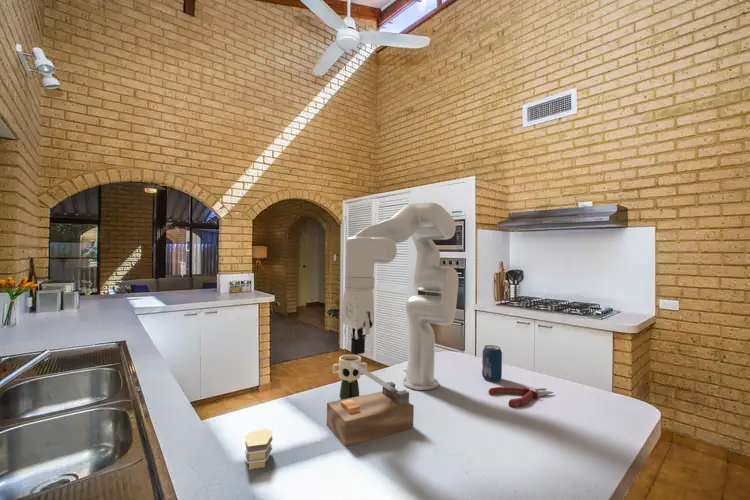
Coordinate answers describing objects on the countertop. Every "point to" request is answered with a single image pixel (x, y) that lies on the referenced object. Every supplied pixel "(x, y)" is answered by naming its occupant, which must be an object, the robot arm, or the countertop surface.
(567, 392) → the countertop surface
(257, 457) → the pale yellow faceted block
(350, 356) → the character mug
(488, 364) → the soda can
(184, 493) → the countertop surface
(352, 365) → the latch lever
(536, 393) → the pliers
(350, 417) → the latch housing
